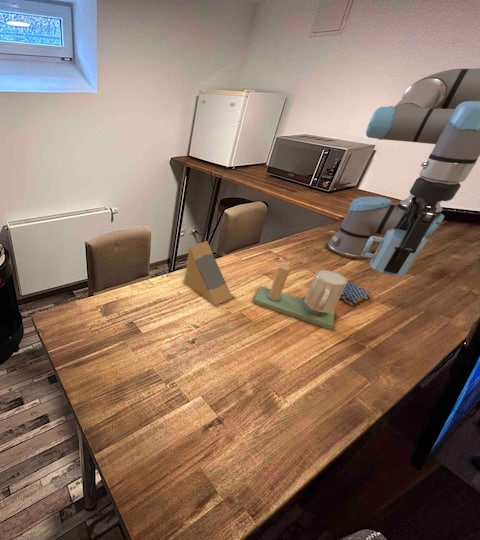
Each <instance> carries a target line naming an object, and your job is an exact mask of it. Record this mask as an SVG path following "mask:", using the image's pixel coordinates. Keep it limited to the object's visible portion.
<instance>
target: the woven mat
mask: <svg viewBox="0 0 480 540" xmlns="http://www.w3.org/2000/svg"><path fill="white" fill-rule="evenodd" d="M371 295H372V293H371V292H370V291H369V290H365V288H362V287H360V285H356V284H355V283H352V282H351V281H350V280H347V285H346V287H345V289H344V291H343V292H342V294H341V296H340V298H339V299H341V300H343V301H344V302H345V303H347V304H348V305H350V306H353V305H354V304H358V302H361V301H363V300H368V299H369V298H371Z"/></svg>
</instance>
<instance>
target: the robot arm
mask: <svg viewBox="0 0 480 540" xmlns="http://www.w3.org/2000/svg"><path fill="white" fill-rule="evenodd" d="M365 136H366V137H367V138H369V139H377V140H379V141H382V140H383V141H394V142H395V141H397V142H409V143H419V144H420V143H421V144H430V145H434V147H433V148H432V150H431V153H430V154H429V156H428V158H427V159H426V161H425V162H424V161H423V162H422V163H421V164H420V167H422V169H421V170H420V171H419V177H418V178H417V177H416V179H415V180H414V183H413V184H412V186H411V187H410V190H409V195H408V197H407V198H404V199H402V200H400V201H399V202H398V204H393V202H392V200H391V199H390V198H386V197H384V196H383V197H382V196H359V197H356V198H354V199H353V200H352V202H351V204H350V206H348V208H347V212H346V214H345V216H344V218H343V221H342V224H341V226H340V228H339V229H338V231H337V232H336V233H335V234H334V235H333V236H332V237H331V239H329V241H328V242H327V244H326V245H327V246H326V247H327V249H328V250H329V251H331V252H332V253H333V254H336V255H338V256H341V257H344V258H348V259H354V260H364V259H368V258H367V257H363V256H362V255H361V253H362V251H363V249H364V247H365V246H366V244H367V242H368V240H369V238H370V237H371V236H375V234H376V235H381V236H383V237H384V236H385V234H386V232H387V230H390V229H402V230H406V233H405V235H404V237H403V239H402V241H401V244H400V246H399V247H395V248H394V249H395V251H394V253H393V255H392V257H391V258H390V260H389V262H388V263H387V265H386V267H385V268H384V271H386V272H391V273H395V274H398V272H399V270H400V269H401V267H402V266H403V264H404V262H405V261H406V259H407V258H408V256H409V254H410V253H415V252H416V250H417V248H418V246H419V244H420V243H421V241H422V239H423V237H425V238H426V240H428V239H429V238H430V237H431V236H432V234H433V233H434V232H435V231H436V230H437V229H438V227H439V225H440V224H441V223H442V222H443V220H444V219H445V215H444V214H443V213H442V211H443V210H444V209H443V207H442V206H441V202H449V201H452V200H453V199H454V197H455V196H456V194H457V193H458V191H459V190H460V188H461V187H462V185H461V183H463V182H465V181H466V179H467V178H468V177H469V175H470V173H471V172H472V170H473V169H474V167H475V165H477V161H478V159H479V157H480V67H477V68H452V69H447V70H442V71H439V72H436V73H433V74H430V75H427V76H424V77H422V78H420V79H419V80H417V81H415V82H414V83H413V84H412V85H410V86H409V87H408V88H407V89H406V90H405V92H404V93H403V95H402V97H401V99H400V100H399V101H398V103H396V104H395V105H394V106H393V105H390V106H379V107H378V108H376V110H375V111H374V112H373V114H372V116H371V118H370V120H369V122H368V125H367V128H366V131H365ZM372 247H373V244H372V245H371V247H370V249H369V250H368V252H367V253H371V254H372V250H373V249H372Z"/></svg>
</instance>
